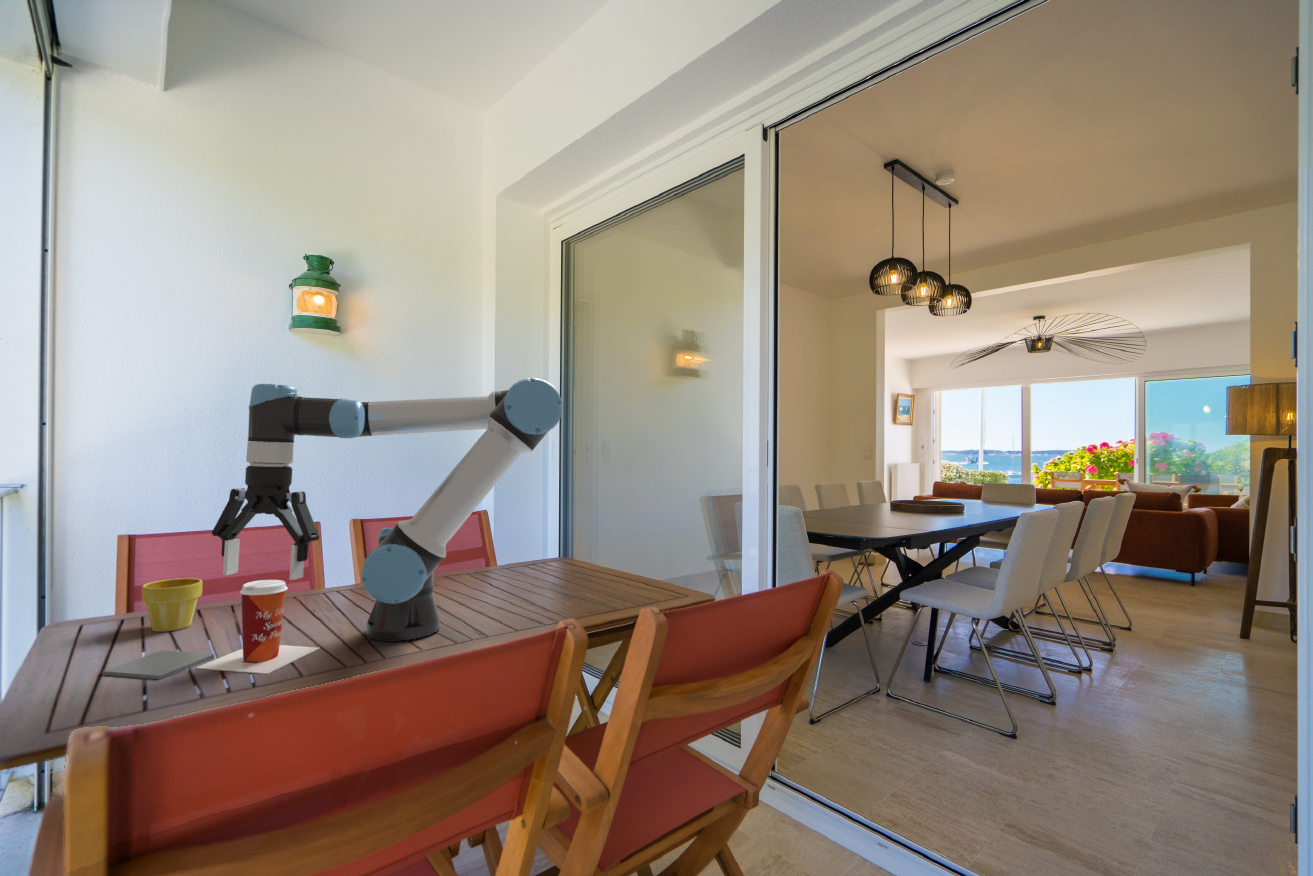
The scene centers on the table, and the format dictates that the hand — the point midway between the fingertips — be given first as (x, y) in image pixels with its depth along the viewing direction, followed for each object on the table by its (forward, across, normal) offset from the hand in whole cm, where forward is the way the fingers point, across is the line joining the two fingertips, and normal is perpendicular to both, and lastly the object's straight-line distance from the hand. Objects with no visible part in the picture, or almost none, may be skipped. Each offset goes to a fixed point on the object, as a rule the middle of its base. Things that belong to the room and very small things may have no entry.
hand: (263, 576), depth 115 cm
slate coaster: (+16, +14, +7) cm, 22 cm away
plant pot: (+16, +32, -13) cm, 38 cm away
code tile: (+16, 0, 0) cm, 16 cm away
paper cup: (+16, 0, 0) cm, 16 cm away
